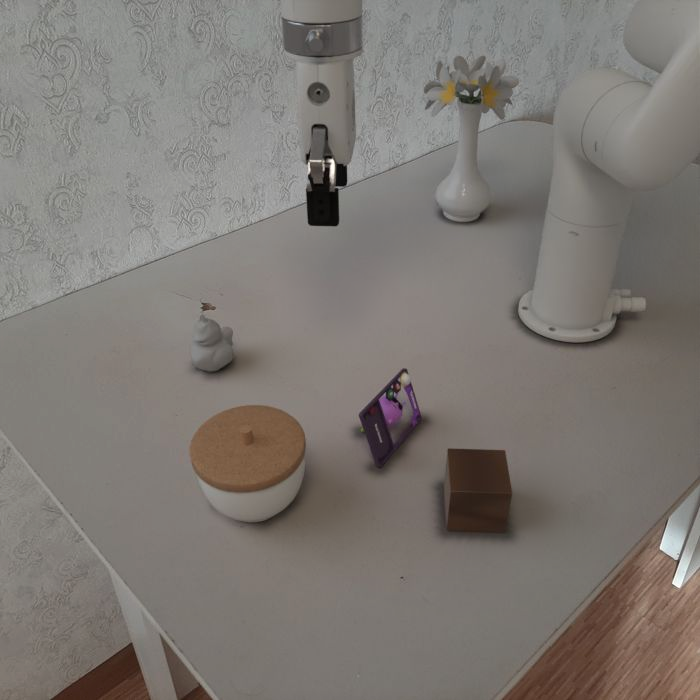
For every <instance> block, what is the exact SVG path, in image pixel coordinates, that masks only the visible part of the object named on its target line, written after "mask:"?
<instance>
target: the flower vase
mask: <svg viewBox="0 0 700 700" xmlns="http://www.w3.org/2000/svg"><path fill="white" fill-rule="evenodd" d="M486 58H487V57H486V55H480V56H477V57H476V58H475V59H474V60H473V61H472V62H471V64H470V66H469V63H468V62H467V60H466V58H465V57H464V56H462V55H456V56H454V58H453V61H452V62H453V63H452V64H453V68H454V70H455V71H450V65H447V66H444V65H443V62H442V60H439V61H438V62H437V64H436V68H435V77H436V80H432V81H429V82H427V83H426V84H425V85H424V87H423V93H424V94H425V99H427V102H426V104H425V106H424V110H425V111H427V110H429V109H430V108H431V107H432V106H433V107H432V110H431V115H430V116H431V118H434V117H436V116H437V115H438V114H439V113H440V112H441V111H442V110H443V109H444V108H445V107H446V106H452V105H453V104H454V103H456V107H457V109H458V118H459V119H458V120H459V131H458V140H457V149H456V155H455V160H454V163H453V166H452V168H451V170H450V172H449V174H448V175H447V176H445V178H443V179H442V180H441V181H440V182H439V183H438V185H437V187H436V189H435V192H434V200H435V202H436V205H438V207H439V208H440V209H441V210H442V213H443V216H444V217H445V218H446V219H448V220H449V221H452V222H458V223H469V222H473V221H475V220H477V219H479V217H480V216H481V213H483V212H485V210H486V209H487V208H488V207H489V206H490V204H491V202H492V198H493V196H492V190H491V187H490V185H489V184H488V182H487V181H486V180H485V179H484V178H483V177H482V175H481V173H480V170H479V165H478V141H479V129H480V128H479V127H480V122H481V119H482V115H483V114H487V113H488V112H489V111H490V109H491V110H492V112H493V113H494V114H495V116H496V117H497V118H498V119H499V120H501V121H503V120H505V117H506V113H505V109H504V108H505V107H506V104H508V105H513V102H512V100H511V99H510V98H511V97H512V96H513V93H514V92H513V91H514V90H513V89H514V88H516V87H518V86H519V84H520V79H519V78H518V77H517V76H514V75H504V73H505V70H506V67H507V66H506V65H507V63H506V59H505V58H504V57H500V58H498V59H497V60H496V62H495V63H494V64H493V65H492V63H491V62H490V61H489V60H487V59H486ZM486 60H487V61H486ZM485 62H486V63H485ZM484 64H485V68H483V66H484ZM464 91H466V92H468V94H462V93H463V92H464ZM476 91H478V92H477V95H476V96H475V94H474V93H475V92H476ZM456 98H458V99H457V100H456ZM455 101H456V102H455Z"/></svg>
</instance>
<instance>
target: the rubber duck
mask: <svg viewBox="0 0 700 700" xmlns="http://www.w3.org/2000/svg"><path fill="white" fill-rule="evenodd" d="M233 334H234V330H233V329H232V327H230V326H222V327H221V325H220V324H219V323H218V322H217V321H215V320H214V319H212V318H207V317H206V316H205V315H204V314H203V313H201V314H200V315H199V316H198V319H197V321H196V323H195V324H194V327H193V330H192V339H193V340H192V341H191V342H190V347H189V348H190V349H189V352H190V353H189V354H190V362H191V365H192V367H194V368H197V369H199V370H202V371H205V372H216V371H219V370H220V369H221V368H224V367H225V366H226V365H228V364H229V363H230V362H232V361H233V359H234V348H233V337H234V336H233Z"/></svg>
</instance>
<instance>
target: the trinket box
mask: <svg viewBox="0 0 700 700" xmlns="http://www.w3.org/2000/svg"><path fill="white" fill-rule="evenodd" d="M306 441H307V439H306V433H305V431H304V428H303V426H302V425H301V424H300V422H299V421H298V420H297V418H295V417H294V416H292V415H291V414H290V413H288V412H286V411H284V410H282V409H281V408H277V407H274V406H270V405H262V404H248V405H247V404H246V405H240V406H235V407H231V408H229V409H226V410H223V411H221V412H218V413H217V414H215V415H213V416H212V417H210V418H208V419H207V420H206V421H204V422H203V424H201V425H200V427H198V428H197V430H196V431H195V433H194V434H193V437H192V439H191V441H190V445H189V458H190V463H191V466H192V468H193V471H194V475H195V478H196V482H197V485H198V487H199V489H200V491H201V493H202V495H203V496H204V498H205V500H206V501H207V502H208V504H209V505H210V506H211V507H212V508H213V509H214V510H215V511H216V512H217V513H220V514H221V515H223V516H224V517H226V518H229V519H231V520H235V521H239V522H244V523H251V524H252V523H262V522H264V521H267V520H270V519H271V518H273V517H274V516H276V515H278V514H279V513H281V512H282V511H284V510H285V509H286V508H287V507H288V506H289V505H290V504H291V503H292V502H293V501H294V500H295V498H296V497H297V495H298V494H299V491H300V489H301V486H302V483H303V480H304V476H305V470H306V447H307V442H306Z"/></svg>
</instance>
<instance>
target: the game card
mask: <svg viewBox="0 0 700 700" xmlns="http://www.w3.org/2000/svg"><path fill="white" fill-rule="evenodd" d="M402 387H403V389H404V392H405V393H406V395H407V397H408V400H409V404H410V406H411V409H412V412H413V416H412V417H411V419H410V421H411V424H410V425H409V426H408V427H407V428H406V429H405V431H404V432H402V434H401V435H400V436H399V437H398V438H397V440H396V441H395V442H394V441H393V438H392V435H391V431H390V429H389V427H391V426H392V425H394V424H396V423H397V422H398V421H399V420H400V419H401V417H402V416H404V413H405V412H406V410H403V408H404V406H405V405H406V402H405V401H404V402H400V401H399V400H398V395H399V393H400V392H401V391H402V390H401V389H402ZM358 418H359V421H360V423H361V428H360V432H361V433H364V435H365V438H366V441H367V444H368V447H369V450H370V452H371V455H372V458H373V461H374V463H375V467H377V468H382V466H383V465H384V464H386V462H387V461H388V459H389V458H390V457H391V456H392V455H393V454H394V453H395V451H396V450H397V449H398V448H399V447H400V445H401V444H402V443H403V442H404V441H405V440H406V439H407V437H408V436H409V435H410V434H411V433H412V431H413V430H414V429H415V428H416V427H417V426H418V425H419V423H420V422H421V421H422V419H423V417H422V414H421V411H420V407H419V403H418V400H417V397H416V394H415V392H414V388H413V385H412V377H411V375H410V373H409V372H408V369H407V368H405V367H403V368H401V369H400V371H398V373H397V374H396V375H394V377H393V378H392V379H391V380H390V381H389V382H388V383H387V384H386V385H384V387H382V389H381V390H380V391H379V392H378V393H377V394H376V396H374V397H373V399H372V400H371V401H369V403H368V404H367V405H366V406H365V407H364V408H363V409H362V410H361V411H360V412H359V413H358Z"/></svg>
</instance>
